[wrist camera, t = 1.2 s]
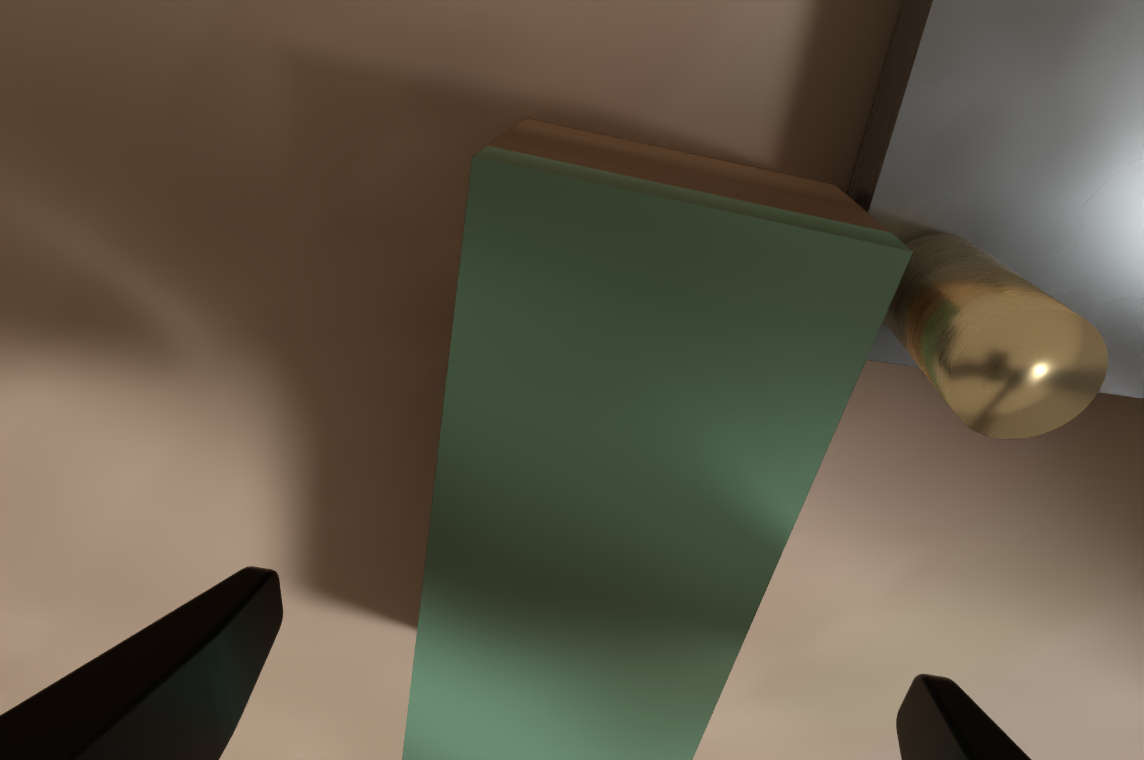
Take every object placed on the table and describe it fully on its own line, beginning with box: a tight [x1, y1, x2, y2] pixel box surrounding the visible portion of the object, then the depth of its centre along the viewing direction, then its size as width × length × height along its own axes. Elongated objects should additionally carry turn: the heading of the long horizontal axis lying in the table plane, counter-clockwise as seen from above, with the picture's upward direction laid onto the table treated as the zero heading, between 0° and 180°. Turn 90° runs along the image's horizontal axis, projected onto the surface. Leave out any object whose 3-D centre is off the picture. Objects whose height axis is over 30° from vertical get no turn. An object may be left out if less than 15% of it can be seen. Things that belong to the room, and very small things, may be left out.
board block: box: [402, 118, 913, 760], centre depth 12 cm, size 12×5×4 cm, turn 170°
